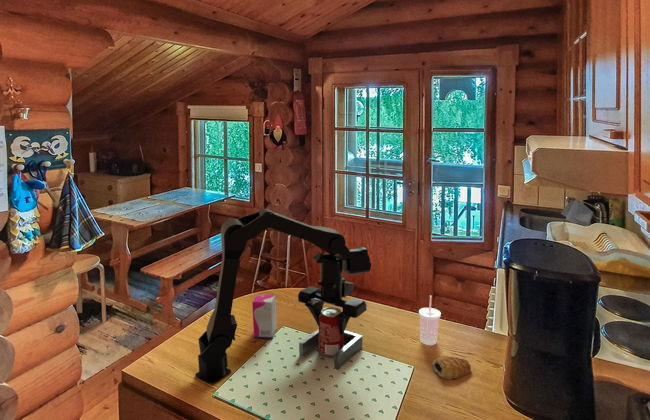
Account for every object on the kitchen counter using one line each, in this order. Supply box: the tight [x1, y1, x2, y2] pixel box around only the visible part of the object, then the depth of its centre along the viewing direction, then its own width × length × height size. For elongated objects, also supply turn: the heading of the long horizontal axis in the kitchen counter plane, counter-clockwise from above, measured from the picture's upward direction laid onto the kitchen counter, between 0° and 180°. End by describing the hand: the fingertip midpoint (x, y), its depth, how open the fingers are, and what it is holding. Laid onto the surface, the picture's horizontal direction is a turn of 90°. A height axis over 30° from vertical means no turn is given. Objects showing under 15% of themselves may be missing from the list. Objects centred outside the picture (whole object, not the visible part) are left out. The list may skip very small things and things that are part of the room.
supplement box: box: [252, 294, 278, 340], centre depth 130 cm, size 6×6×12 cm
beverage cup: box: [418, 295, 442, 346], centre depth 125 cm, size 6×6×14 cm
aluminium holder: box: [298, 328, 363, 371], centre depth 121 cm, size 13×12×4 cm
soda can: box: [318, 306, 344, 357], centre depth 120 cm, size 7×7×12 cm
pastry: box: [431, 355, 472, 380], centre depth 112 cm, size 9×7×4 cm
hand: (331, 330), depth 120 cm, fingers closed on soda can, 7 cm apart
